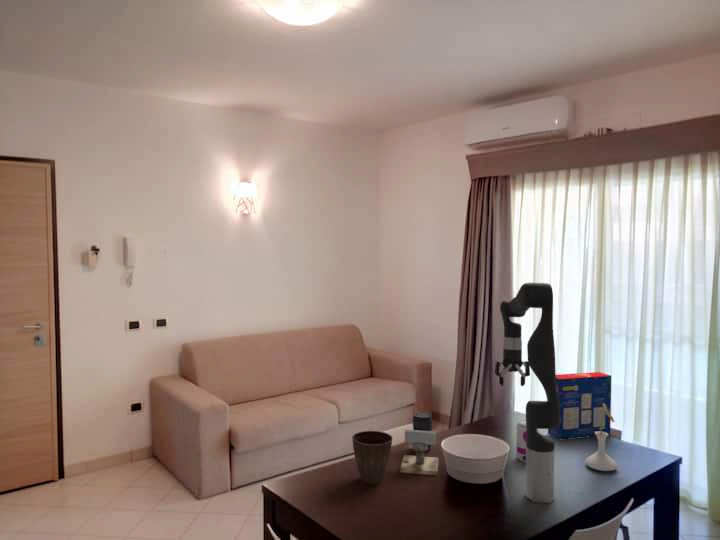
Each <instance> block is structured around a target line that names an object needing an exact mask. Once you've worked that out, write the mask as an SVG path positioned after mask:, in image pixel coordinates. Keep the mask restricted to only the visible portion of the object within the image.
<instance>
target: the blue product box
mask: <svg viewBox="0 0 720 540" xmlns="http://www.w3.org/2000/svg"><path fill="white" fill-rule="evenodd" d="M556 387H557V395H558V403H559V411H560V424H559V427H558V428H557V429H547V435H548V434H550V435H551V436H550V435H549V436H550V437H552V436H553V437H552V438H554V437H555V438H554V439H556V438H557V439H559V440H558V441H561V440H560V439H566V440H570V439H569V438H576V439H578V438H577V437H586V438H588V437H587V436H595V437H597V436H596V434H595V432H597V431H601V429H600V428H601V426H602V425H601V422H600V421H601V420H602V418H603V416H604V414H605V412H606V411H605V409H604V407H603V403H604V404H605V405H606V407H607V410H609V412H610V415H611V410H612V375H610V374H607V373H604V372H599V371H594V372H581V373H579V372H577V373H564V374H556ZM611 416H612V415H611ZM611 422H612V421H611V419H610V418H609V416H608V415H605V416H604V418H603V420H602V424H603V426H604V427H605V428H604V429H602V432H606V433H608V434H609V435H608V436H611ZM557 439H556V440H557Z"/></svg>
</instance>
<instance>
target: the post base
mask: <svg viewBox="0 0 720 540" xmlns="http://www.w3.org/2000/svg"><path fill="white" fill-rule="evenodd" d="M439 459H440V458H439V457H435V456H434V457H431V456H425V452H418V451H415V455H407V454H404V455H403V458H402V461H401V465H400V469H399V471H400V473H401V474H402V473H403V474H404V473H405V474H416V475H427V476H438V471H439V461H440V460H439Z"/></svg>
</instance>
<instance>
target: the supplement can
mask: <svg viewBox="0 0 720 540" xmlns="http://www.w3.org/2000/svg"><path fill="white" fill-rule="evenodd" d="M516 424H517V425H516V451H515V452H516V455H515V457H516V458H517V459H518V460H519V461H521V462H524V461H526V419H523V420H518V422H517V423H516ZM537 432H538V433H539V429H537Z"/></svg>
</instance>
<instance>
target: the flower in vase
mask: <svg viewBox="0 0 720 540" xmlns="http://www.w3.org/2000/svg"><path fill="white" fill-rule="evenodd" d="M603 407H604V409H605V411H606V412H605V414H604V416H605V415H608V416H609V418H610V419H611V421H610V422H612V423H615V422H616V421H615V419H614V417H613V416H612V415H610V412H609V410H607V407H606V405H605V404H604V403H603ZM604 416H603V418H604ZM603 418H602V420H603ZM602 420H601V421H600V422H601V425H602V426H601V428H600V429H601V431H597V432H595V434H596V436H595V437H596V438H597V445H598V448H597V451H596V452H594V453H593V454H591V455H589V456H588V457H586V459H585V461H584V462H585V464H586V466H587V467H590V468H591V469H594V470H597V471H601V472H610V471H615V470H616V469H617V468H618V465H617V463H616V462H615V460H614V459H612V458H611V456H609V455H608V454H607V453H606V449H605V445H606V439H607V437H608V436H610V435H609V434H608V433H606V432H602V429H604V428H605V427H604V426H603V424H602Z"/></svg>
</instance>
